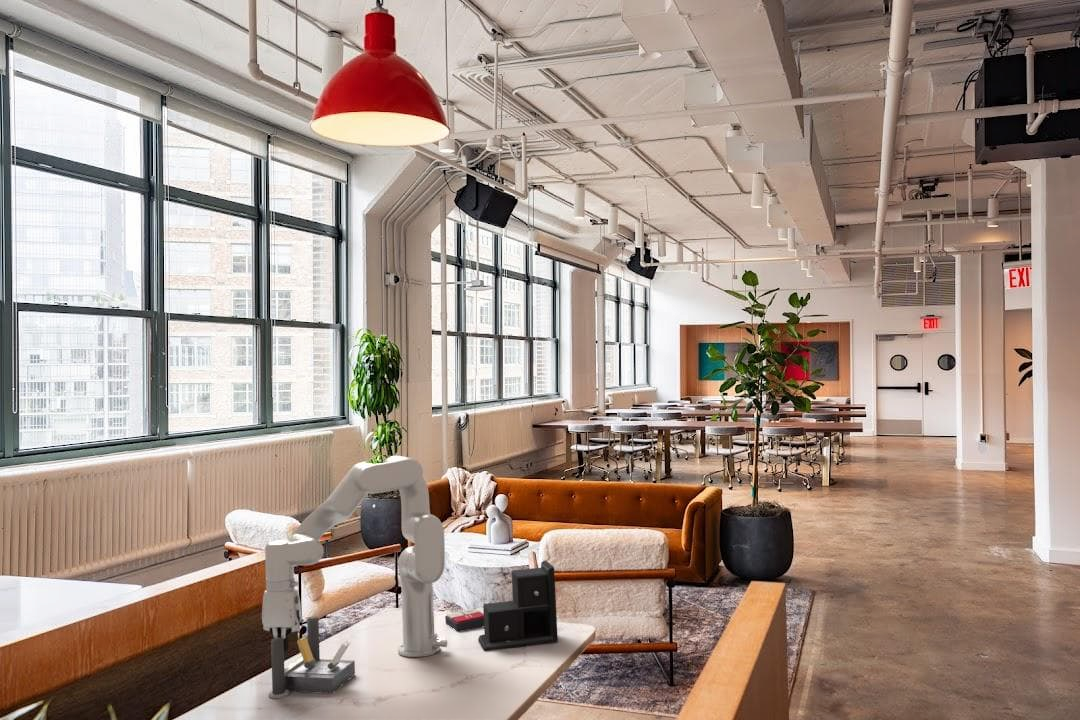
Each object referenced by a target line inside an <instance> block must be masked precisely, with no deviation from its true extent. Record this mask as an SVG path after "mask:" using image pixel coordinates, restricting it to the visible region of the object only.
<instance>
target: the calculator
mask: <svg viewBox="0 0 1080 720" xmlns="http://www.w3.org/2000/svg"><path fill="white" fill-rule="evenodd" d="M444 620H445V625H447V626H448V625H449V626H448V627H450V628H451V627H452V628H451V629H453V628H454V629H455V630H456V632H457V631H458V632H462V631H461V630H464V631H469V630H468V629H470V630H474V629H480V628H484V612H483V606H481V607H477V608H469V609H465V610H461V611H457V612H452V613H447V614H446V615H445V619H444ZM454 629H453V630H454ZM455 630H454V631H455Z"/></svg>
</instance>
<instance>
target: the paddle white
mask: <svg viewBox="0 0 1080 720" xmlns="http://www.w3.org/2000/svg"><path fill="white" fill-rule="evenodd" d="M350 644H351V642H349V640H345V641H344V642H343V643H342V644H341V645H340V647H339V648H338V650H337V652H336V653H335V655H334V656H333V658H332V659H331V660H332V661H331V663H329V664H328V668H329V669H332V668H334V667H335V666H336V665H338V664H339V660H342V657H343V656H344V654H345V652H346V651H347V649H348V648H349V646H350Z"/></svg>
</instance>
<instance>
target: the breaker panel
mask: <svg viewBox="0 0 1080 720" xmlns="http://www.w3.org/2000/svg"><path fill="white" fill-rule="evenodd" d="M315 660H316V662H315V663H314V664H313V665H312V666H310V667H309V668H305V666H304V664H305V663H304V660H303V657H302V656H301V657H300V658H298V659H297V660H296V661H294V662H292V663H291V664H290V665H288V666H286V667H284V671H285V689H287V690H288V691H289V692H293V693H295V691H296V693H313V692H318V693H317V694H319V692H321V693H320V694H334V693H335V692H336V691H338V690H339V689H340V688H341V687H342V686H343V685H345V684H346V683H347V682H348V681H349V680H350V679H349V678H351V677H352V676H353V675H354V674H355V675H356V667H355V666H356V663H355V660H348V659H347V660H346V659H345V660H344V659H340V660H339V664H338V665H336V666H335V667H334V668H332V669H329V668H328V664H329V663H331V661H332V659H326V658H325V659H323V658H320V659H315ZM355 675H354V676H355ZM354 676H353V677H354ZM353 677H352V678H353ZM352 678H351V679H352ZM348 679H349V680H348ZM347 680H348V681H347ZM346 681H347V682H346ZM345 682H346V683H345ZM344 683H345V684H344ZM342 684H343V685H342ZM341 685H342V686H341ZM340 686H341V687H340ZM339 687H340V688H339ZM338 688H339V689H338ZM334 691H335V692H334ZM333 692H334V693H333Z"/></svg>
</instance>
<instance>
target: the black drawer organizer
mask: <svg viewBox="0 0 1080 720" xmlns="http://www.w3.org/2000/svg"><path fill="white" fill-rule="evenodd" d="M555 578H556V575H555V567H554V566H553V565H552V564H551V563H550V562H548V560H543V561H541V563H540V567H535V568H534V567H533V568H524V569H514V570H511V589H512V600H507V601H500V602H499V601H497V602H490V603H489V602H488V603H483V605H482V607H483V612H484V627H483V628H484V629H483V630H484V634H481V635H479V636H478V638H477V640H478V643H479V645H480V647H481V648H482V651H483V652H489V651H490V652H491V651H497V650H498V651H499V650H507V649H514V648H522V647H531V646H536V645H537V646H538V645H545V644H546V645H548V644H552V643H553V644H555V643H558V642H559V637H558V620H557V619H558V618H557V616H558V615H557V601H556V600H557V599H556V596H557V595H556V579H555Z"/></svg>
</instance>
